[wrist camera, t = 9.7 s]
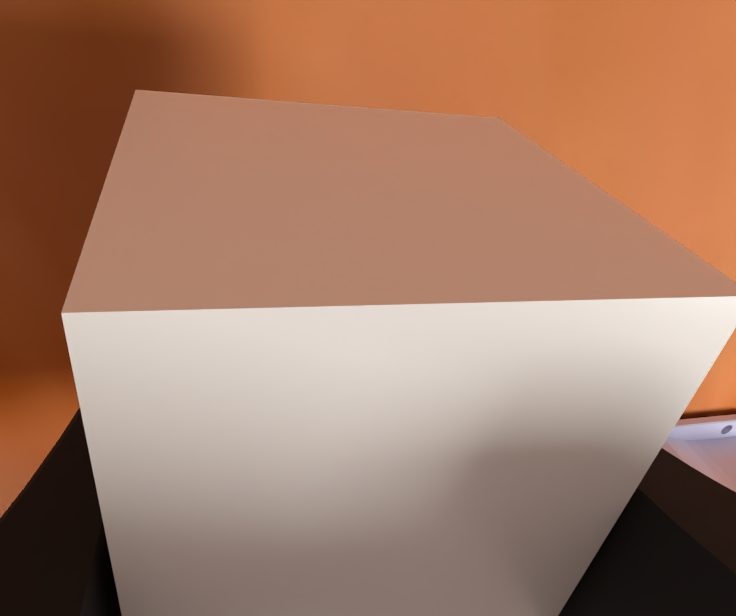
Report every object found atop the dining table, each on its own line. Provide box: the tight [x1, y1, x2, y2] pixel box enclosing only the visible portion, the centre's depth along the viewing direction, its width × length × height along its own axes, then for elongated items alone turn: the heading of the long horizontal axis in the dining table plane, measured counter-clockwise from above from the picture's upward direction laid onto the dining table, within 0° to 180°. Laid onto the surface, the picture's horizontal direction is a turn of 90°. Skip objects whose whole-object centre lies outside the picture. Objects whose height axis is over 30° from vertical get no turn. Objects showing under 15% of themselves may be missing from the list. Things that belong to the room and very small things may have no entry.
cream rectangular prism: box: [61, 90, 736, 616], centre depth 9 cm, size 6×10×5 cm, turn 171°
